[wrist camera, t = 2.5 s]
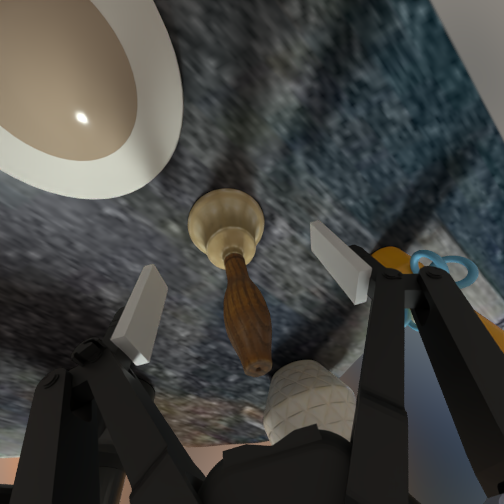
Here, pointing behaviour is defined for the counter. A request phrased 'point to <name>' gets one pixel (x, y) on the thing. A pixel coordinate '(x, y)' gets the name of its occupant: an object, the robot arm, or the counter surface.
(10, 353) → the counter surface
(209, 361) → the counter surface
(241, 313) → the hand bell
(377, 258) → the cylinder
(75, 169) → the hub plate
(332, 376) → the vase
